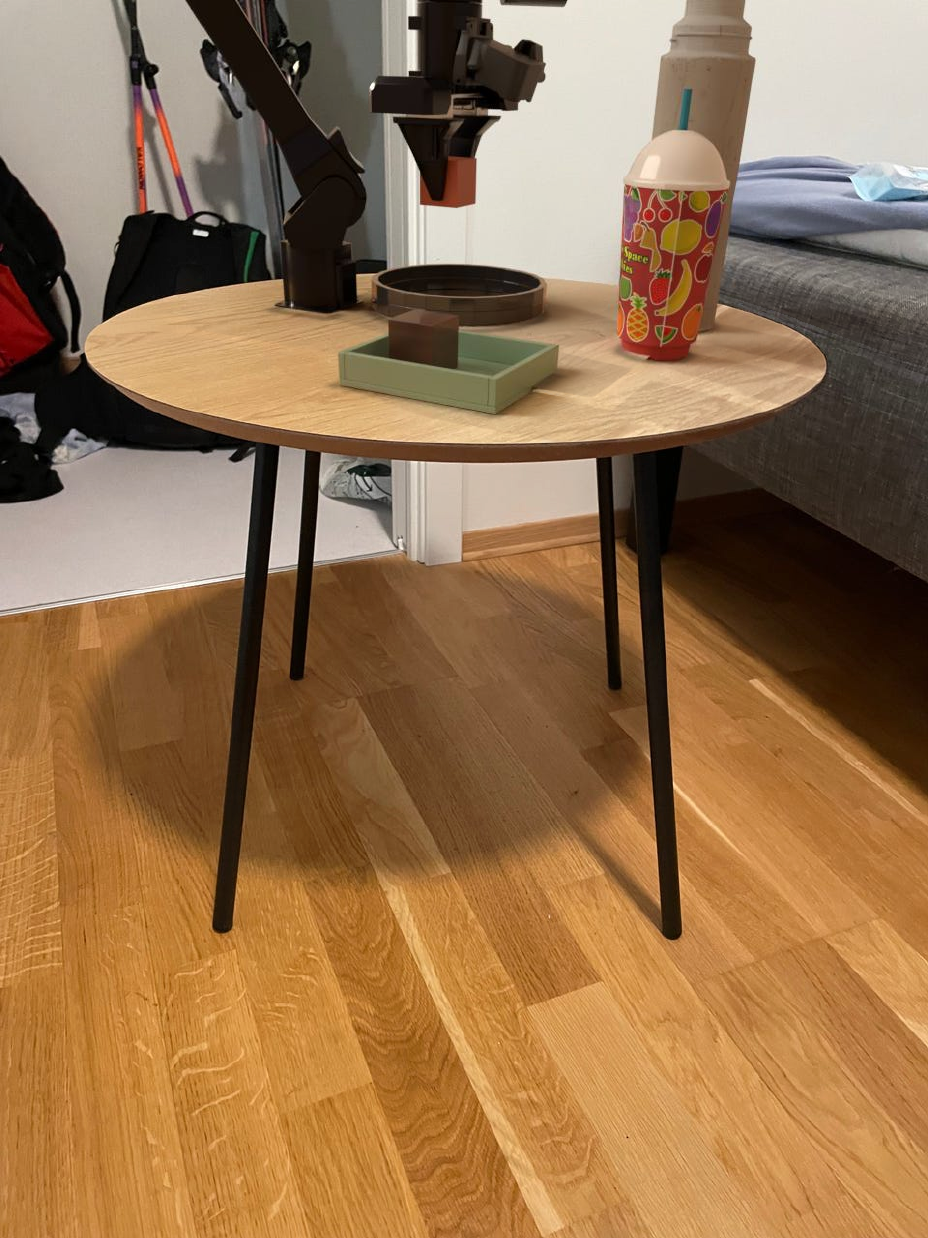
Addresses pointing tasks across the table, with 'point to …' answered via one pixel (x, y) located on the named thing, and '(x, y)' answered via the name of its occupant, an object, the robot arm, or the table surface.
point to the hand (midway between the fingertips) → (447, 198)
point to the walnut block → (424, 338)
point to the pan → (461, 293)
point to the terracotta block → (455, 184)
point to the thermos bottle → (710, 99)
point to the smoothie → (669, 240)
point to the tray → (454, 371)
